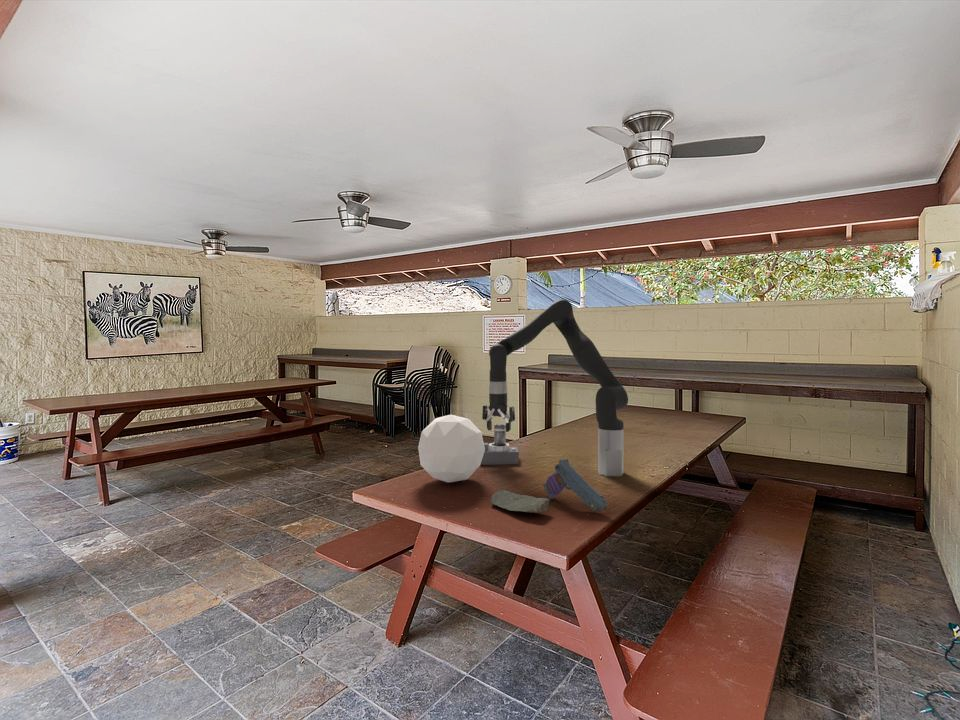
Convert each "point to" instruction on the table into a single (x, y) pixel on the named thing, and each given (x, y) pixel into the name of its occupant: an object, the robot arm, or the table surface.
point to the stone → (519, 502)
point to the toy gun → (573, 486)
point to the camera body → (500, 454)
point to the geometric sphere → (451, 448)
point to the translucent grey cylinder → (499, 435)
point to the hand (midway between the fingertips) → (498, 430)
